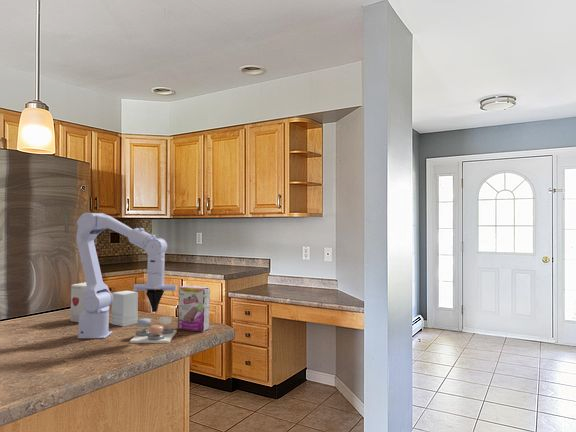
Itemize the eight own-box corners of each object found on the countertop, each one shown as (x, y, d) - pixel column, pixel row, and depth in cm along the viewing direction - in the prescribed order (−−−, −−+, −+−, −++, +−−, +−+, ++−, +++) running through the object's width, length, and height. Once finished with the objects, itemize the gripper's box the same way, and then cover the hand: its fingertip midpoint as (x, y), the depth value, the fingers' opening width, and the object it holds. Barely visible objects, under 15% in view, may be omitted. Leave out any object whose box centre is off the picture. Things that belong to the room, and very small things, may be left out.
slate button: (135, 326, 151) (135, 321, 151) (139, 323, 155) (139, 318, 155) (148, 326, 151) (149, 321, 151) (152, 323, 156) (152, 318, 156)
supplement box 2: (138, 323, 172) (138, 291, 172) (122, 326, 166) (123, 294, 166) (126, 320, 176) (127, 290, 176) (110, 324, 170) (111, 292, 170)
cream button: (157, 324, 154) (157, 319, 154) (160, 321, 159) (160, 316, 159) (170, 324, 154) (170, 319, 154) (173, 321, 159) (173, 316, 159)
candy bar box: (177, 329, 163) (178, 286, 164) (183, 326, 168) (184, 284, 168) (203, 332, 160) (204, 288, 160) (209, 329, 165) (210, 286, 165)
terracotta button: (147, 334, 146) (148, 328, 146) (151, 330, 151) (151, 324, 151) (161, 334, 146) (161, 328, 146) (164, 330, 151) (164, 324, 151)
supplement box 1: (69, 321, 173) (70, 284, 173) (85, 316, 181) (86, 281, 182) (87, 323, 170) (88, 285, 170) (103, 318, 179) (104, 282, 179)
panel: (129, 342, 145) (129, 335, 145) (140, 332, 159) (140, 325, 159) (168, 342, 146) (169, 335, 146) (176, 332, 160) (176, 325, 160)
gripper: (131, 273, 146) (130, 313, 146) (174, 274, 147) (173, 313, 146) (137, 271, 153) (136, 309, 153) (178, 271, 154) (177, 309, 154)
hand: (154, 311), depth 150 cm, fingers closed
